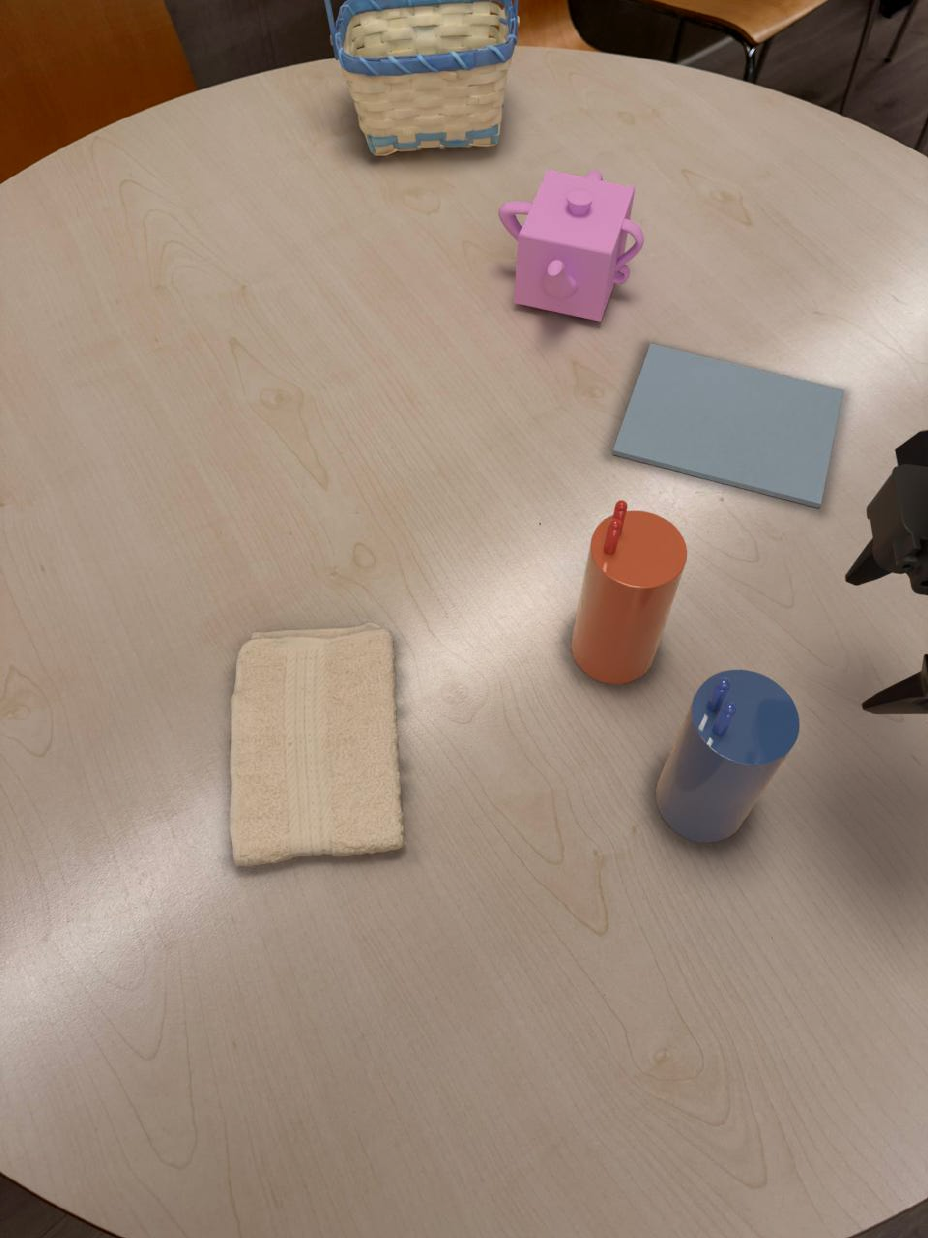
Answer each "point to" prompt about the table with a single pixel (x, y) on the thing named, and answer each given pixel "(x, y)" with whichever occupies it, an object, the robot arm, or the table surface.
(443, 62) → the basket
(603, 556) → the red spoon jar
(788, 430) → the blue mat
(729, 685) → the blue spoon jar
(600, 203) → the teapot
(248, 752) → the washcloth
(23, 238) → the table surface
